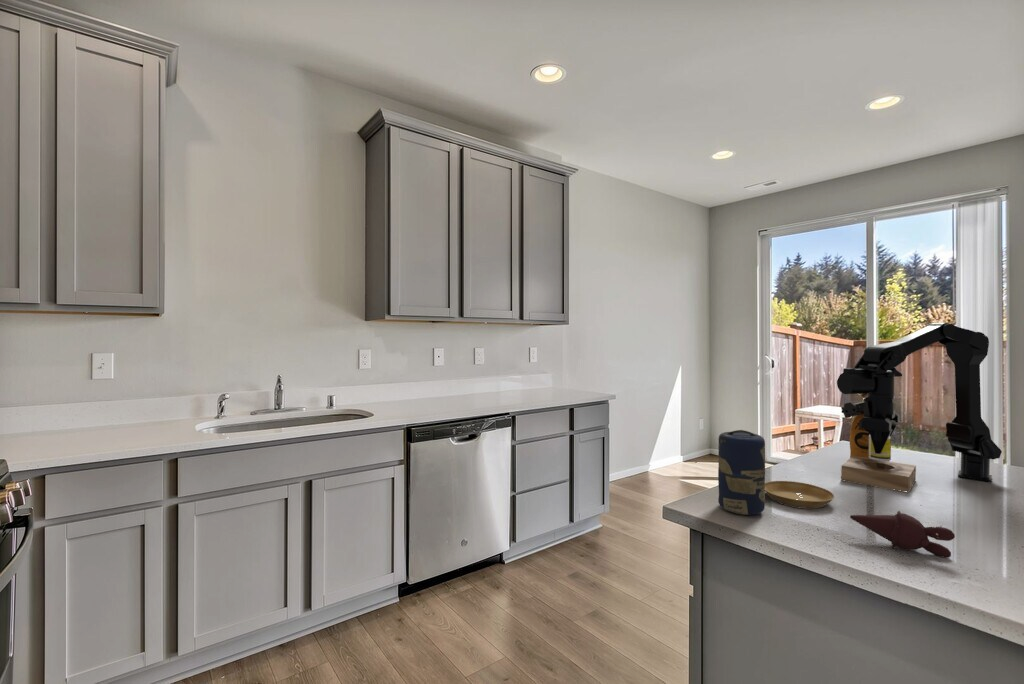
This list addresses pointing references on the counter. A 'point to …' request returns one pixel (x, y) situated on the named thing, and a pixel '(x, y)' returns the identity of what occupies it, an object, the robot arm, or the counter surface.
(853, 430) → the coffee package
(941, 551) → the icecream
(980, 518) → the counter surface
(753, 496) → the canister
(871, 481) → the wooden holder block
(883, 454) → the supplement bottle
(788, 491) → the plant saucer
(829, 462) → the counter surface
